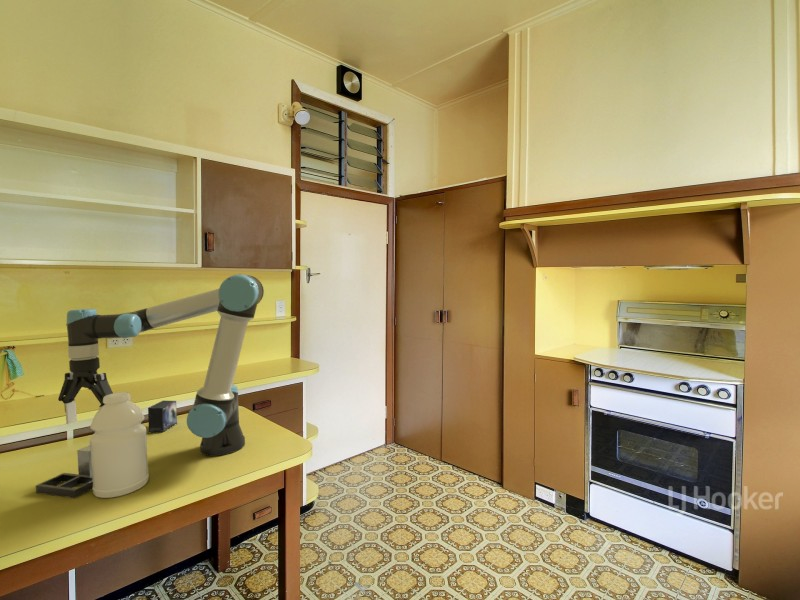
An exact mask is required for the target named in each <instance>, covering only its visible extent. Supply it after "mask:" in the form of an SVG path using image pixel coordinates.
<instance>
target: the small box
mask: <svg viewBox="0 0 800 600" xmlns="http://www.w3.org/2000/svg"><path fill="white" fill-rule="evenodd" d="M177 412H178V411H177V400H161V401H159V402H157V403H155V404H152V405H151V406H149V407H147V415H148V418H147V419H148V420H147V421H148V433H149V432H152V433H153V432H154V433H156V432H158V433H159V432H161V433H164V432H167V431H168V430H169V429H171V428H173V427H174V426H176V425H178V413H177ZM175 424H176V425H175ZM172 426H173V427H172ZM170 427H171V428H170ZM167 429H168V430H167ZM154 433H153V434H154Z"/></svg>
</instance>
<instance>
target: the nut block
mask: <svg viewBox="0 0 800 600" xmlns="http://www.w3.org/2000/svg"><path fill="white" fill-rule="evenodd" d="M76 454H77V468H78V469H77V470H78V474H79V475H87V476H92V465H91V450H90V444H89V445H87V446H84V447H81V448H79V449H77V451H76Z"/></svg>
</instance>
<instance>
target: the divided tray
mask: <svg viewBox="0 0 800 600" xmlns="http://www.w3.org/2000/svg"><path fill="white" fill-rule="evenodd" d="M81 484H82V485H81ZM79 485H80V486H79ZM77 486H78V487H77ZM92 488H93V480H92V476H87V475H79V473H78V474H77V473H69V472H62V473H61V474H58V475H57V476H54V477H51V478H49V479H48V480H45V481H43V482H41V483H38V484H36V485H35V493H36V494H41V495H47V496H48V495H49V496H50V495H51V496H58V497H63V498H72V499H76V498H79V496H81V495H83V494H86V493H87V492H89V491H92Z"/></svg>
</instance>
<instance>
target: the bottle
mask: <svg viewBox="0 0 800 600" xmlns="http://www.w3.org/2000/svg"><path fill="white" fill-rule="evenodd" d="M103 403H104V404H105V405H103V406H102V407H101V408H100V409H99V408H98V410H97V412H96V413H95V415H94V417H93V418H92V421H91V424H90V425H89V426H90V427H89V429H90V430H92V431H93V432H94V433H93V434H92V435H91V436H90V438H89V445H90V450H91V465H92V480H93V488H92V489H91V491H92V493H93V495H94V497H96V498H99V499H107V498H108V499H109V498H112V499H113V498H116V497H122V496H125V495H128V494H131V493H133V492H135V491H137V490H139V489H141V488H143V487H144V486H145V485H146V484H147V483H148V481H149V476H150V474H149V465H148V447H147V427H146V426H144V424H142V422H143V421H144V420H145V414H144V413H143V411H142V410H141V408H140V406H138V405H137V404H136V403H134V402H133V401H131V393H130V392H127V391H126V392H125V391H123V392H121V391H120V392H115V393H113V394H109V395H106V396H104V397H103Z"/></svg>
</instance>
